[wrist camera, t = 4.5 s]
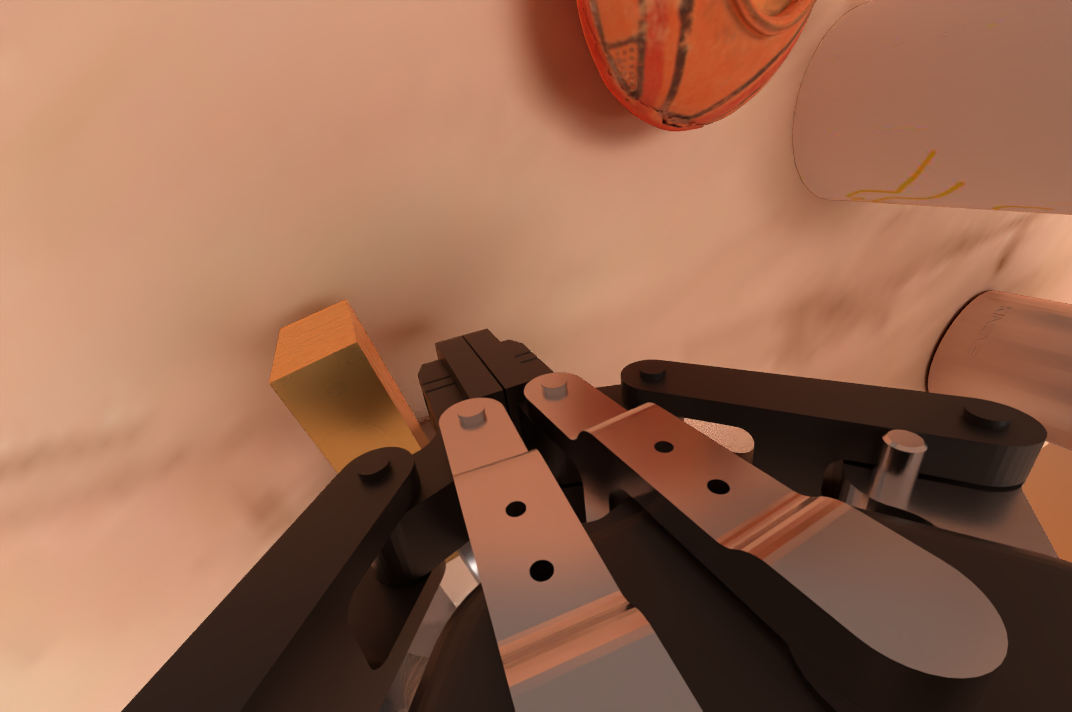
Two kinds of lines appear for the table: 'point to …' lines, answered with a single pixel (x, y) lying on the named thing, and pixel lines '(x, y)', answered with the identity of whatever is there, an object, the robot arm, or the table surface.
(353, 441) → the foot screw
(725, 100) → the pot
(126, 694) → the table surface
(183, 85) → the table surface
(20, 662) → the table surface
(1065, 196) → the pale grey cylinder
